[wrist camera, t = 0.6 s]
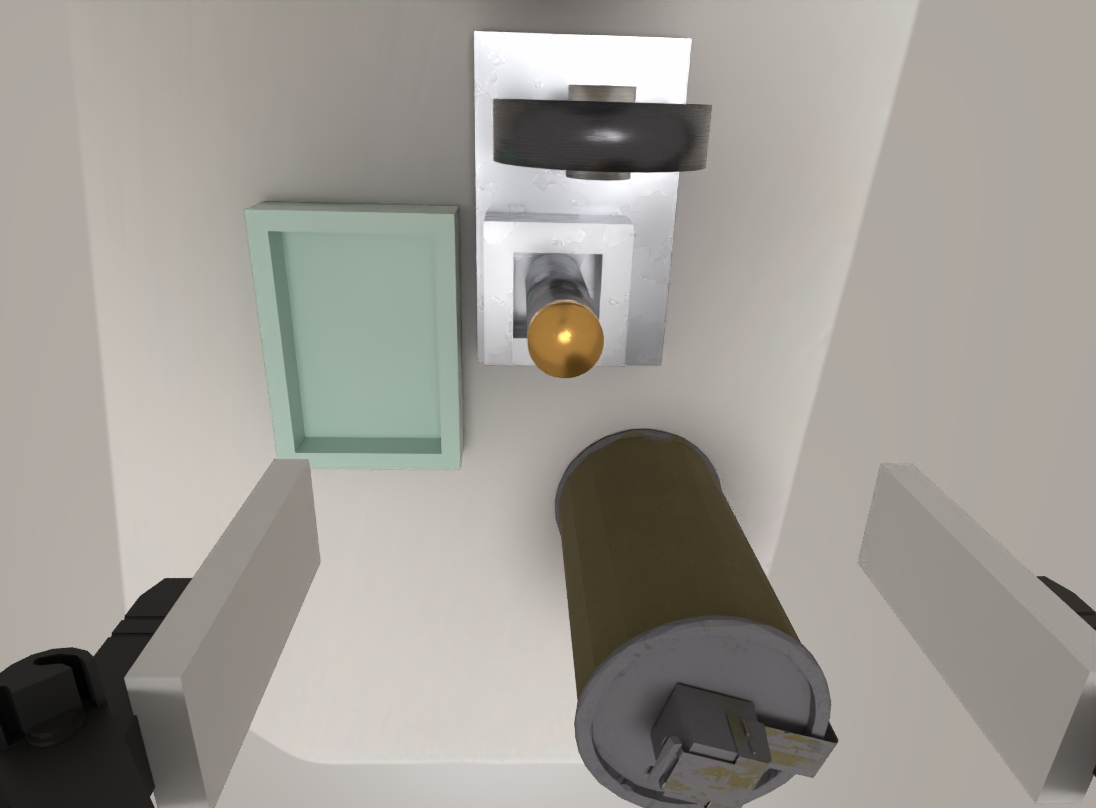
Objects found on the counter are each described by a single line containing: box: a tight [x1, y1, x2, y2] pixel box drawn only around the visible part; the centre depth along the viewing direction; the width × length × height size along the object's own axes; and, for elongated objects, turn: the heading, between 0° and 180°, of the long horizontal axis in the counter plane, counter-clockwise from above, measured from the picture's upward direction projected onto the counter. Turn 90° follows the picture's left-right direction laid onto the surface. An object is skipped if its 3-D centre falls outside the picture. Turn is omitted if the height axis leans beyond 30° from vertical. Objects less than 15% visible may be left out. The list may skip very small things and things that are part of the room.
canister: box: [555, 430, 838, 808], centre depth 36 cm, size 11×10×20 cm
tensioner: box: [474, 31, 712, 367], centre depth 33 cm, size 16×10×11 cm, turn 178°
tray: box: [244, 201, 464, 470], centre depth 39 cm, size 14×10×3 cm
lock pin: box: [525, 254, 604, 378], centre depth 33 cm, size 3×3×10 cm
